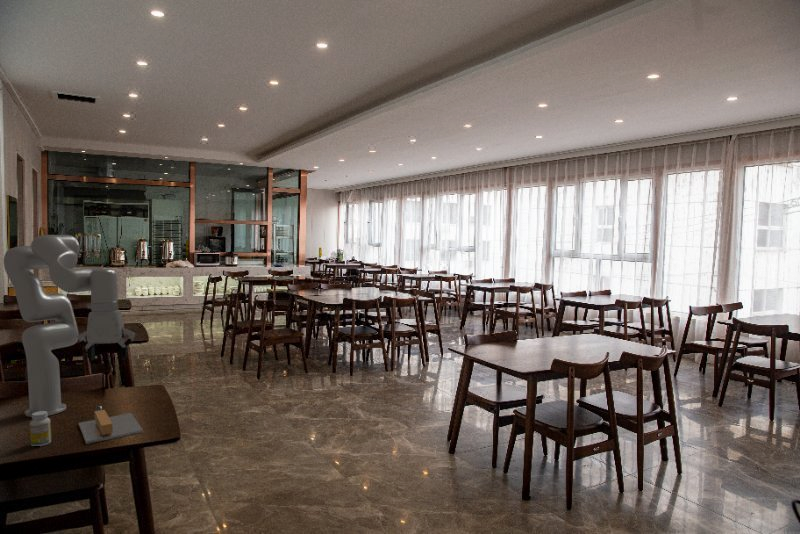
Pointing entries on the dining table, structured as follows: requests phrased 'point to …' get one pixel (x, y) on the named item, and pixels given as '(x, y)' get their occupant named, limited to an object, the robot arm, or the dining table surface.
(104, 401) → the dining table surface
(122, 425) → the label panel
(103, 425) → the swing bar
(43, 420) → the supplement bottle
